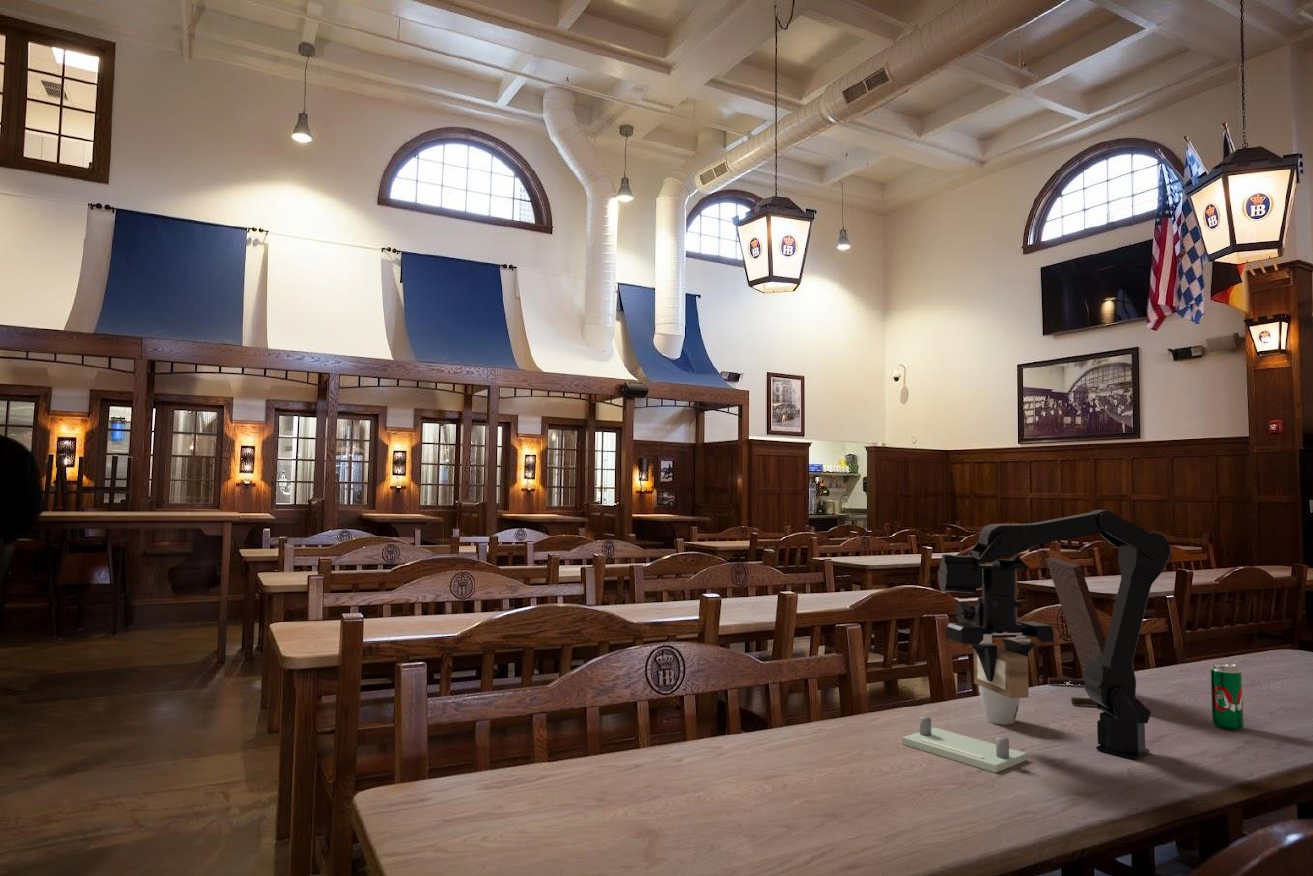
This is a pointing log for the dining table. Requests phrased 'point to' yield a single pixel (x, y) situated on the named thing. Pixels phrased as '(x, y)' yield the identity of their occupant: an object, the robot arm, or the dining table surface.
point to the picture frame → (1077, 617)
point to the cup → (998, 707)
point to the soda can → (1227, 696)
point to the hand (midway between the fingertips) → (999, 680)
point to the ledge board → (964, 748)
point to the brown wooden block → (1005, 674)
